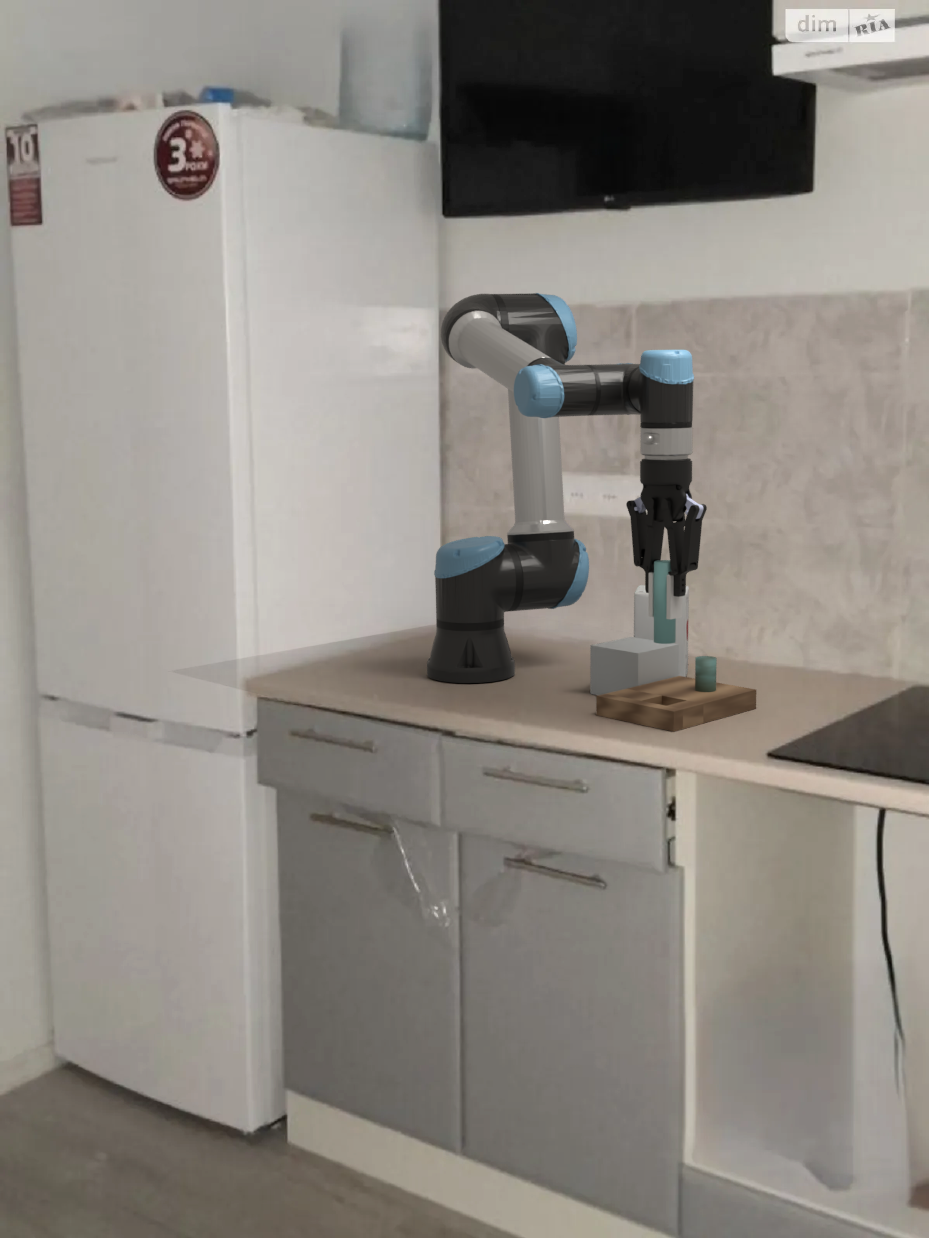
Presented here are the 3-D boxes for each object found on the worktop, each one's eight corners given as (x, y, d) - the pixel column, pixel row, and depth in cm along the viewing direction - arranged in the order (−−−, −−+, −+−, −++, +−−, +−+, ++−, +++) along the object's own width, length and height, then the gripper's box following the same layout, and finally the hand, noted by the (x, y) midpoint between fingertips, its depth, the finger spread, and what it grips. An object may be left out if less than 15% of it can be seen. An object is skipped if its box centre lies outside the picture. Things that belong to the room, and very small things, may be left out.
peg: (649, 642, 226) (649, 561, 224) (662, 639, 228) (663, 559, 226) (666, 644, 223) (666, 563, 221) (679, 641, 226) (680, 561, 224)
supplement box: (686, 681, 254) (687, 593, 252) (632, 680, 256) (632, 592, 254) (689, 670, 263) (690, 584, 261) (637, 669, 265) (637, 584, 262)
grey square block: (590, 693, 246) (590, 645, 245) (630, 684, 253) (630, 636, 252) (638, 703, 239) (638, 653, 238) (678, 693, 246) (678, 644, 244)
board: (596, 715, 232) (596, 663, 230) (679, 693, 245) (679, 645, 244) (673, 731, 221) (674, 677, 219) (756, 708, 234) (757, 657, 233)
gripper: (608, 456, 224) (608, 614, 228) (693, 460, 213) (691, 626, 217) (641, 454, 229) (640, 608, 233) (725, 457, 218) (723, 619, 222)
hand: (665, 616), depth 225 cm, fingers closed on peg, 3 cm apart
